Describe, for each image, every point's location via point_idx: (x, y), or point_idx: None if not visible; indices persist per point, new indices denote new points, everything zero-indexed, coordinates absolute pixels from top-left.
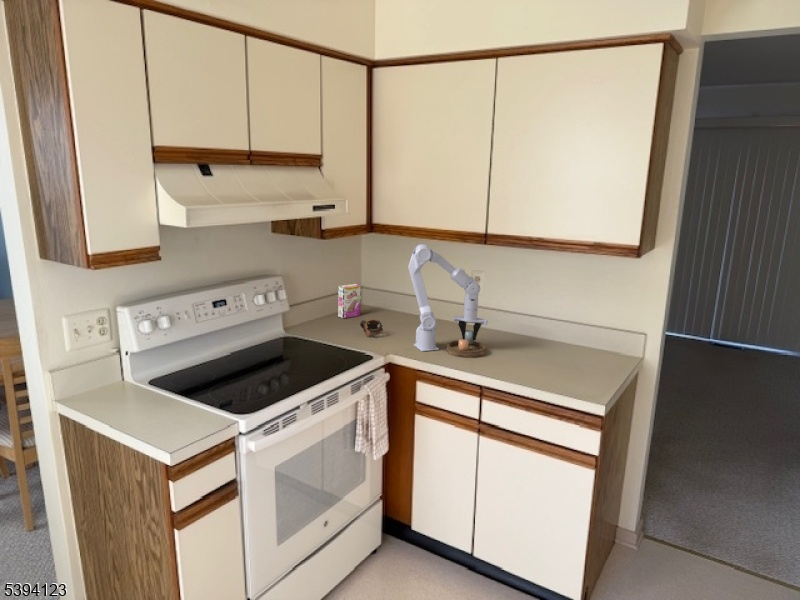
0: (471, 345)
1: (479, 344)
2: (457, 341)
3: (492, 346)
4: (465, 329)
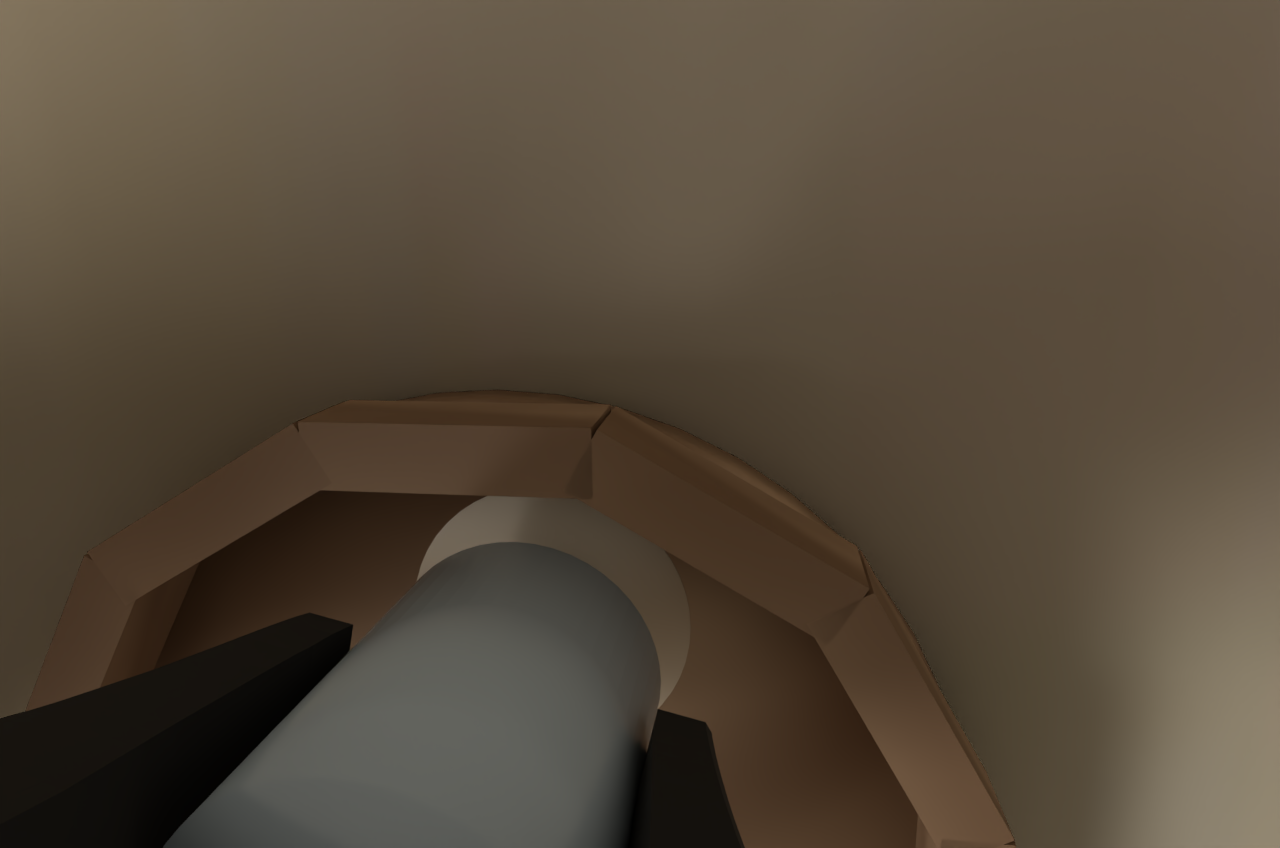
0: (615, 554)
1: (836, 665)
2: (206, 557)
3: (1242, 286)
4: (113, 804)
